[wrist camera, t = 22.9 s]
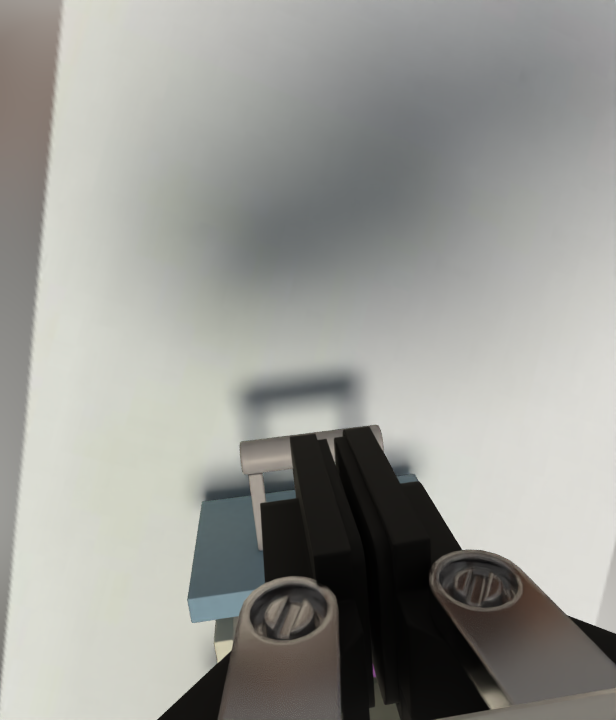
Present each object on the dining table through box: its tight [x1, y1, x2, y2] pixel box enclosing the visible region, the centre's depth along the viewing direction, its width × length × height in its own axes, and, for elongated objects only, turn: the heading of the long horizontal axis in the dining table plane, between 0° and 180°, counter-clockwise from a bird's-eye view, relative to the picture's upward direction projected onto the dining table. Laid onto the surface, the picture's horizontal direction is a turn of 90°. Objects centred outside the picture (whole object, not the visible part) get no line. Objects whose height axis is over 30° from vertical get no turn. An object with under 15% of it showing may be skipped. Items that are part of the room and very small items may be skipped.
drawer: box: [187, 425, 418, 720], centre depth 27 cm, size 19×11×7 cm, turn 5°
